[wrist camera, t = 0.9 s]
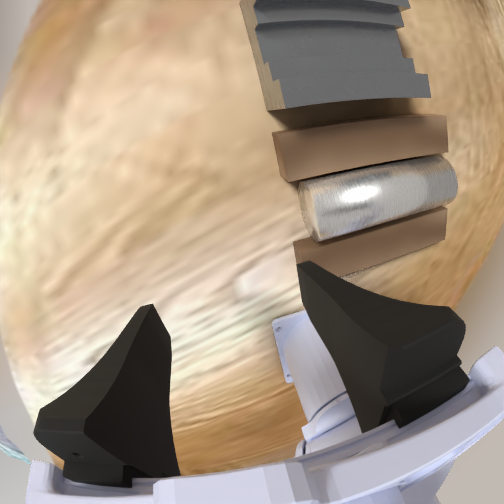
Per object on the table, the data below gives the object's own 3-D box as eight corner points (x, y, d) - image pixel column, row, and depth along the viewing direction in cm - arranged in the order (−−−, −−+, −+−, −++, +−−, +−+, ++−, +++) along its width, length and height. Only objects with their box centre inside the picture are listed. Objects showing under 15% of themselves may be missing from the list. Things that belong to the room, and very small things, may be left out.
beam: (432, 231, 23) (444, 239, 21) (298, 275, 22) (305, 287, 21) (431, 114, 18) (445, 115, 16) (271, 132, 17) (279, 134, 15)
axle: (423, 154, 20) (455, 158, 16) (427, 198, 21) (458, 209, 17) (294, 178, 19) (314, 185, 15) (304, 232, 21) (325, 250, 17)
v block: (394, 96, 17) (431, 97, 13) (266, 110, 16) (285, 108, 13) (371, 3, 13) (403, -12, 9) (239, 3, 12) (250, -24, 9)
